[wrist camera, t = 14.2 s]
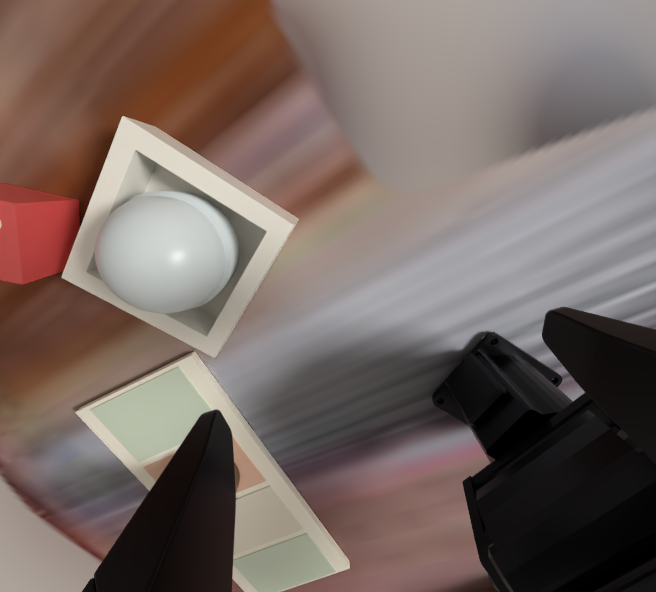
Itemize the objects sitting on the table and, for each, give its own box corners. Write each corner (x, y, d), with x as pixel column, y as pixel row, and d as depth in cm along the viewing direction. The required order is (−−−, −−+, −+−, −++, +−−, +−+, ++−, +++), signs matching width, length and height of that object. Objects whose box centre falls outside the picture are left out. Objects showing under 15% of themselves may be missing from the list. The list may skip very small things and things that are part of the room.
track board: (349, 560, 29) (349, 569, 28) (254, 593, 30) (253, 602, 30) (194, 350, 22) (190, 356, 21) (81, 406, 23) (74, 413, 23)
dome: (260, 229, 18) (232, 248, 13) (213, 312, 20) (171, 360, 14) (160, 167, 17) (84, 159, 12) (120, 261, 19) (37, 291, 13)
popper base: (299, 219, 19) (294, 225, 16) (230, 335, 21) (215, 358, 18) (156, 127, 17) (122, 115, 14) (99, 264, 20) (61, 277, 17)
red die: (78, 199, 18) (13, 203, 15) (81, 265, 20) (21, 284, 16) (6, 183, 18) (-80, 183, 14) (13, 251, 19) (-65, 268, 16)
